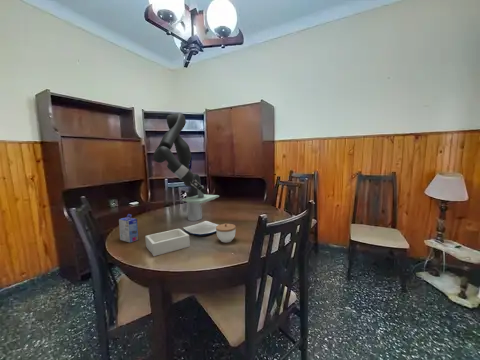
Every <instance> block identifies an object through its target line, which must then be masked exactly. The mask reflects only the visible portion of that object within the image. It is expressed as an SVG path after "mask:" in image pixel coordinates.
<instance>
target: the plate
mask: <svg viewBox="0 0 480 360" xmlns="http://www.w3.org/2000/svg"><path fill="white" fill-rule="evenodd" d="M218 225H219V224H218V223H214V222H211V221H208V220H204V221H201V222H199V223H196V224H192V225H188V226H184V227H182V230H183V231H184V232H185V233H187V234H189V235H190V234H191V235H194V236H200V237H201V236H202V237H203V236H208V235H212V234H215V233H216V226H218Z"/></svg>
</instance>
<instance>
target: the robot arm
mask: <svg viewBox="0 0 480 360" xmlns="http://www.w3.org/2000/svg"><path fill="white" fill-rule="evenodd" d="M186 123H187V120H186V116H185V115H184V114H183V113H181V112H178V113H173V114H168V115H167V116H166V124H167V127H168V130H167V131H166V132H165V133H164V134H163V136H162V138H161V139H160V143H159V144H158V145H157V147H156V149H155V151H154V152H153V154H152V157H153V160H154V162H156V163H160V164H162V163H164V162H165V161H166V162H167V165H166V167H167V169H168V170H169V171H170V172H172V173H173V174H174V175H175V176H176V177H177V178H178V179H179V180H180V181H182V182H183V184H184V185H185V186H186V187H189V188H190V187H191V188H190V190H189V191H187V192H186V198H189V197H193V196H197V195H198V189H199V191H201V192H202V193H203V194H206V195H207V193H208V191H207V190H205V188H204V186H203V185H201V176H200V175H199V174H197V173H193V172H192V171H191V170H190V163H191V160H192V153H191V149H190V145H189V144H188V143H187V142H186V141H185V139H183V138H182V137H181V135H180V133H181V132H182V130H183V129H184V128H185V126H186ZM173 145H174V148H175V152H176V156H177V157H175V155H174V154H173V152H172V151H171V149H172V148H173ZM199 186H200V188H198V187H199ZM202 186H203V187H202ZM203 188H204V189H203ZM186 204H187V205H186V206H187V207H186V208H187V220H188V221H191V222H195V221H199V220H200V221H201V220H202V219H203V215H202V212H203V211H202V205H201V204H199V203H189V202H186Z"/></svg>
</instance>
